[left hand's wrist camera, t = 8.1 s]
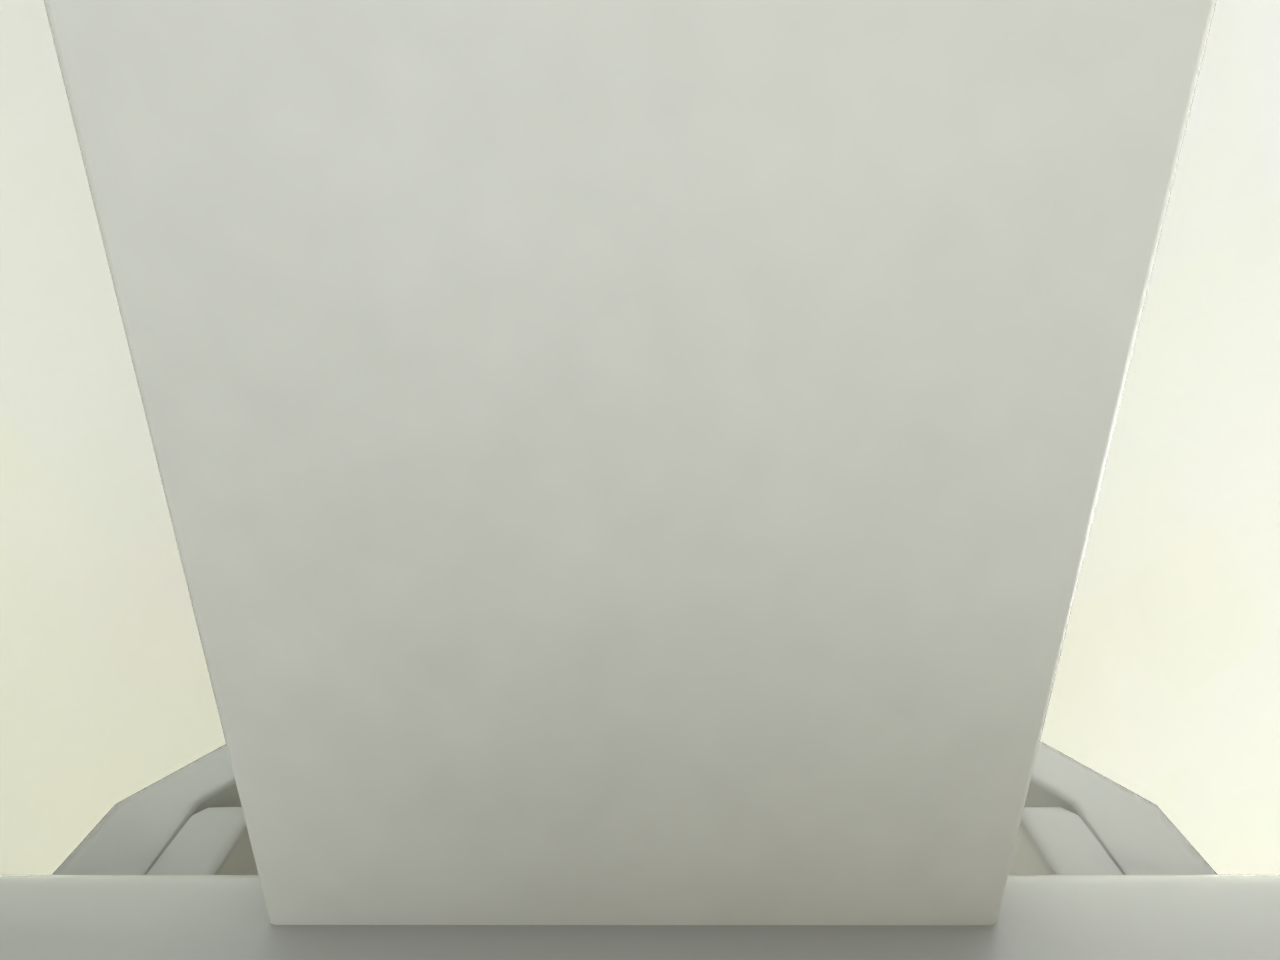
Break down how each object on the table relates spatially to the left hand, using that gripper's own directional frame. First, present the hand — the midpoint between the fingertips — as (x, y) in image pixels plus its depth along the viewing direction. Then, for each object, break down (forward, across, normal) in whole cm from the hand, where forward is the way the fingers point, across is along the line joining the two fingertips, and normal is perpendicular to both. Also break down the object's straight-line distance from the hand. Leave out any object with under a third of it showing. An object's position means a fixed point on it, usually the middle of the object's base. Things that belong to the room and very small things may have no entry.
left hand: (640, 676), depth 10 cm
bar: (+3, 0, +10) cm, 11 cm away
